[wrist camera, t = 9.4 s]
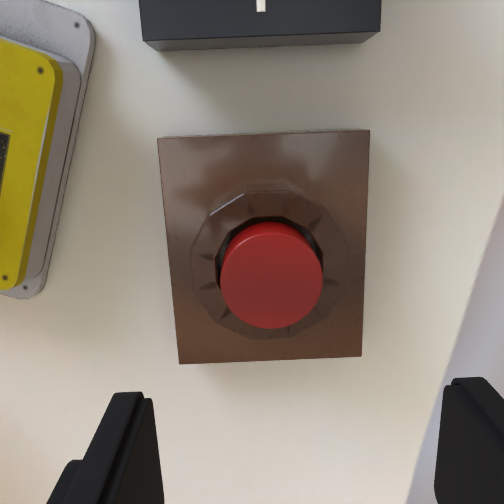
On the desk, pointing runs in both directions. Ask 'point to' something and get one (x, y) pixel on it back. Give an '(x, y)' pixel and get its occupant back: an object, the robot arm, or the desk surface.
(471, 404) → the robot arm
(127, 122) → the desk surface
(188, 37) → the panel
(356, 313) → the button block
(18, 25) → the emergency button
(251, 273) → the button
